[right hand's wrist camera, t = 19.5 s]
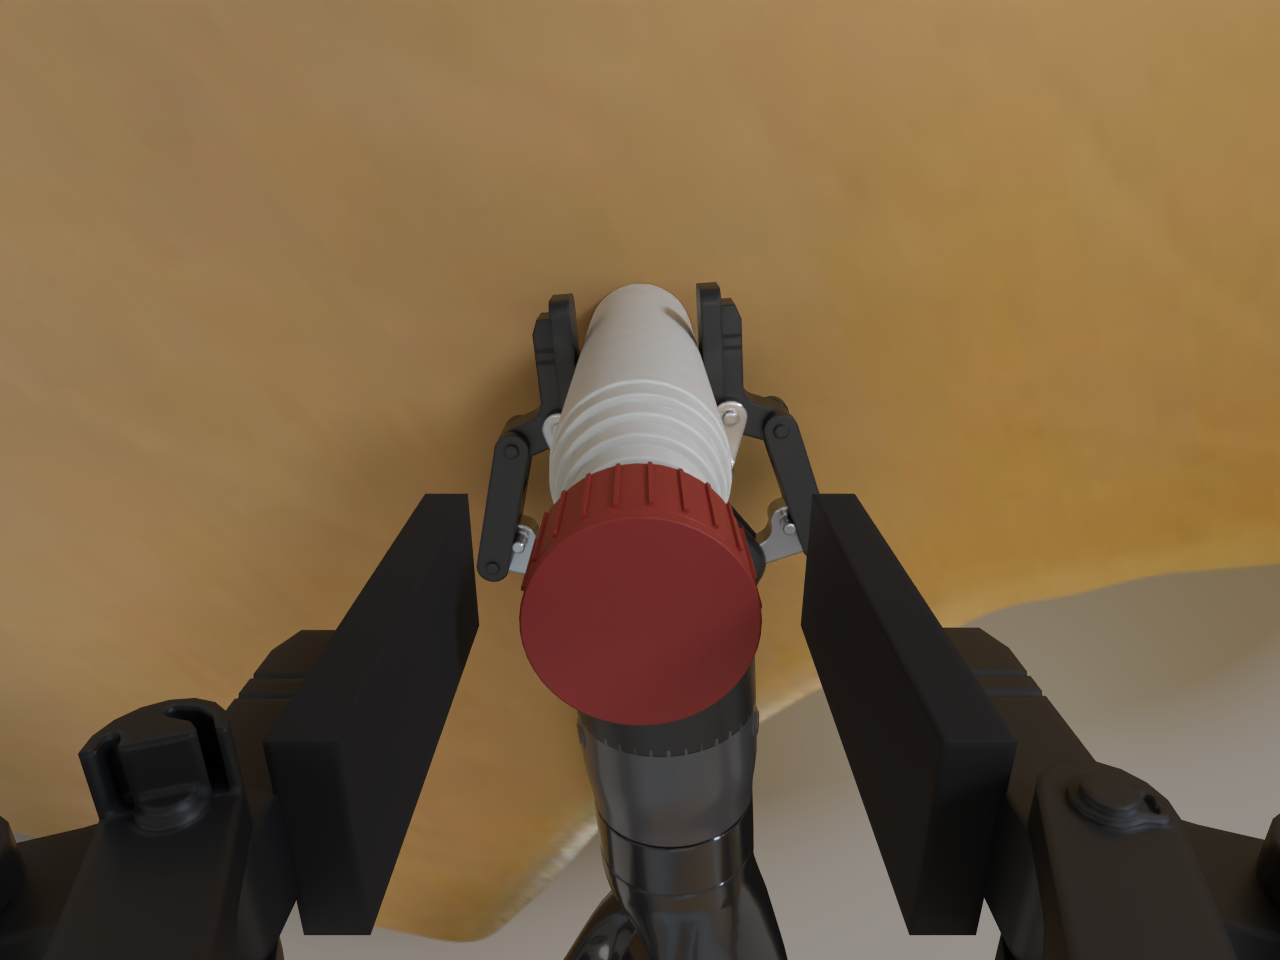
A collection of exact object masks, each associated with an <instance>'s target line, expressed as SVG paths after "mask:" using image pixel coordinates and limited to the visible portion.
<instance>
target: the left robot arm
mask: <svg viewBox="0 0 1280 960" xmlns="http://www.w3.org/2000/svg"><path fill="white" fill-rule="evenodd" d="M696 299H697V320H698V341H699V352H700V355H701V358H702V361H703V364H704V367H705V370H706V373H707V377H708V380H709V383H710V386H711V389H712V392H713V395H714V398H715V401H716V405H717V408H718V411H719V414H720V417H721V420H722V423H723V426H724V429H725V432H726V436H727V439H728V442H729V446H730V451H731V459H732V462H731V472H732V478H733V469H734V463H735V459H736V456H737V452H738V449H739V446H740V442H741V439H742V435H746V436H750V437H754V438H757V439H761V440H764V443H765V446H766V449H767V452H768V455H769V458H770V461H771V464H772V467H773V470H774V473H775V476H776V479H777V482H778V485H779V488H780V491H781V494H782V497H781V498H778V499H776V500H774V501H773V502H771V504H770V505H769V507H768V510H767V515H768V523H767V525H766V527H765V528H764V530H762V531H761V532H759V533H757V534H756V533H755V532H754V531H753V530H752V528H751V527H750V526H749V525H748V524H747V523H746V522H745V520H744V519H743V518H742V517H741V516H740V515H739V514H738V512H737V511H736V510H735V509H734V508H733V507H732V506H731V507H732V511H733V515H734V517H735V519H736V521H737V523H738V526H739V528H743V530H744V533H745V536H746V540H747V543H748V547H749V550H750V554H751V557H752V561H753V564H754V568H755V571H756V575H757V579H755V582H756V585H757V584H758V582H759V581H760V579H761V577H762V576H763V574H764V571H765V567H766V564H767V563H770V562H773V561H776V560H779V559H782V558H785V557H788V556H791V555H794V554H797V553H801V552H804V553H805V555H806V556H807V549H808V537H809V526H810V514H811V503H812V494H819V491H818V488H817V485H816V482H815V479H814V475H813V472H812V469H811V466H810V463H809V460H808V456H807V453H806V450H805V447H804V444H803V441H802V437H801V434H800V431H799V428H798V425H797V423H796V421H795V419H794V418H793V416H792V415H791V414H789V411H788V408H787V406H786V405H785V403H784V402H783V401H782V400H781V399H780V398H778V397H775V396H768V397H761V396H758V395H754V394H751V393H749V392H747V391H746V390H745V389H744V388H743V361H742V324H741V317H740V315H739V312H738V310H737V308H736V306H735V304H734V302H733V301H732V299H731V298H724V299H721V294H720V288H719V286H718V284H717V283H716V282H710V283H697V284H696ZM533 343H534V350H535V359H536V367H537V375H538V383H539V390H540V398H541V406H540V407H539V408H537V409H536V410H534V411H532V412H530V413H527V414H525V415H517V416H514V417H512V418H510V419H509V420H508V422H507V424H506V425H505V427H504V429H503V431H502V433H501V435H500V437H499V439H498V441H497V443H496V445H495V449H494V456H493V462H492V469H491V476H490V482H489V489H488V495H487V502H486V508H485V515H484V522H483V528H482V535H481V541H480V548H479V554H478V561H477V571H478V573H479V575H480V576H481V577H482V578H484V579H485V580H487V581H491V582H497V581H500V580H502V579H504V578H505V577H506V576H507V574H508V571H510V572H515V573H521V574H525V572H526V569H527V565H528V561H529V558H530V554H531V551H532V547H533V544H534V540H535V538H538V534H539V526H538V524H537V522H536V521H535V520H534V519H533V518H531V517H529V516H525V515H523V509H524V503H525V497H526V491H527V486H528V480H529V474H530V468H531V462H532V456H533V455H536V454H538V453H540V452H543V451H545V450H547V449H550V450H551V445H552V441H553V438H554V435H555V432H556V428H557V425H558V422H559V419H560V416H561V413H562V410H563V407H564V403H565V400H566V397H567V394H568V391H569V388H570V385H571V381H572V378H573V375H574V372H575V369H576V366H577V363H578V360H579V356H580V350H579V341H578V331H577V322H576V312H575V303H574V297H573V294H560V295H553V296H552V297H551V299H550V300H549V312H547V313H541V314H540V316H539V317H538V319H537V320H536V324H535V328H534V331H533ZM732 478H731V482H732ZM727 503H729V502H727ZM730 505H731V504H730ZM758 727H759V711H758V710H757V706H756V689H755V655H754V658H753V660H752V662H751V664H750V666H749V668H748V669H747V671H746V673H745V674H744V676H743V677H742V678H741V679H740V681H739V682H738V683H737V685H736V686H735V687H734V688H733V689H732V690H731V691H729V692H728V693H727V694H726V695H725V696H724V697H723V698H721V699H720V700H719V701H717V702H716V703H715V704H713V705H711V706H710V707H708V708H706V709H705V710H703V711H701V712H698V713H696V714H694V715H692V716H690V717H686V718H683V719H680V720H677V721H673V722H668V723H663V724H655V725H626V724H618V723H613V722H608V721H604V720H600V719H598V718H595V717H592V716H589V715H587V714H585V713H583V712H581V711H579V710H578V720H577V732H578V737H579V741H580V743H581V745H582V750H583V756H584V761H585V766H586V770H587V773H588V777H589V780H590V783H591V786H592V789H593V793H594V798H595V807H596V815H597V823H598V831H599V839H600V847H601V854H602V860H603V865H604V869H605V873H606V876H607V879H608V882H609V884H610V887H611V889H612V890H611V891H610V893H609V894H608V895H607V896H606V897H605V898H604V899H603V900H602V901H601V903H600V904H599V906H598V907H597V908H596V910H595V911H594V913H593V914H592V915H591V917H590V918H589V920H588V922H587V923H586V925H585V926H584V928H583V929H582V931H581V933H580V934H579V936H578V937H577V939H576V941H575V942H574V944H573V946H572V947H571V949H570V950H569V952H568V954H567V955H566V957H565V958H564V960H787V955H786V951H785V947H784V944H783V940H782V937H781V933H780V930H779V927H778V924H777V921H776V917H775V914H774V911H773V908H772V904H771V901H770V898H769V895H768V891H767V888H766V885H765V883H764V880H763V878H762V875H761V873H760V870H759V868H758V865H757V863H756V860H755V857H754V853H753V801H752V780H753V773H754V767H755V759H756V749H757V733H758Z"/></svg>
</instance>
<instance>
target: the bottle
mask: <svg viewBox="0 0 1280 960" xmlns="http://www.w3.org/2000/svg"><path fill="white" fill-rule="evenodd" d="M648 462H653V464H659V465H664V466H667V467H671V468H675V469H679V468H681V469H683V470H684V472H685V473H688V474H690V475H692V476H694V477H695V478H697V479H699V480H701V481H702V482H704V483H706V482H708V483H709V484H710V485H711V488H712V489H713V490H714V491H715V492H716V493H717V494H718V495H719V496H720V497H721V498H722V499H723V500H724V502H725V503H726V504H727V502H728V499H729V496H730V490H731V478H732V472H731V462H732V459H731V451H730V446H729V442H728V439H727V436H726V432H725V429H724V426H723V423H722V420H721V417H720V414H719V411H718V408H717V405H716V401H715V398H714V395H713V392H712V389H711V386H710V383H709V380H708V377H707V373H706V370H705V367H704V364H703V361H702V358H701V355H700V352H699V349H698V346H697V342H696V339H695V336H694V333H693V330H692V327H691V324H690V321H689V318H688V315H687V313H686V311H685V309H684V308H683V306H682V305H681V303H680V302H679V301H678V300H677V299H676V298H675V297H674V296H673V295H672V294H670V293H669V292H668V291H666V290H664V289H662V288H660V287H657V286H654V285H650V284H631V285H626V286H623V287H621V288H618V289H616V290H615V291H613V292H611V293H610V294H609V295H607V296H606V297H605V298H604V299H603V300H602V301H601V302H600V304H599V305H598V307H597V308H596V310H595V312H594V314H593V316H592V319H591V322H590V325H589V328H588V331H587V335H586V338H585V341H584V344H583V347H582V350H581V353H580V356H579V360H578V363H577V366H576V369H575V372H574V375H573V378H572V381H571V385H570V388H569V391H568V394H567V397H566V400H565V403H564V407H563V410H562V413H561V416H560V419H559V422H558V425H557V428H556V432H555V435H554V438H553V441H552V445H551V450H550V458H549V470H550V471H549V484H550V492H551V496H552V500H553V503H554V504H555V503H556V502H557V501H558V499H559V498H560V496H561V492H562V491H563V490H566V491H567V490H568V489H569V488H570V487H572V486H573V485H575V484H576V483H577V482H579V481H580V480H582V479H583V478H585V477H586V474H588V473H591V474H593V473H595V472H598V471H601V470H603V469H606V468H610V467H613V466H616V464H618V463H620V464H621V465H624V464H633V463H647V464H648Z"/></svg>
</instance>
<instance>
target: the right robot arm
mask: <svg viewBox="0 0 1280 960" xmlns="http://www.w3.org/2000/svg"><path fill="white" fill-rule="evenodd" d="M478 627H479V618H478V606H477V595H476V583H475V572H474V560H473V549H472V537H471V526H470V514H469V503H468V494H425V495H424V497H423V498H422V500H421V501H420V503H419V504H418V506H417V507H416V509H415V510H414V512H413V513H412V515H411V516H410V518H409V519H408V521H407V523H406V524H405V526H404V527H403V529H402V530H401V532H400V533H399V535H398V536H397V538H396V539H395V541H394V542H393V544H392V545H391V547H390V548H389V550H388V551H387V553H386V554H385V556H384V558H383V559H382V561H381V562H380V564H379V565H378V567H377V568H376V570H375V571H374V573H373V574H372V576H371V577H370V579H369V580H368V582H367V583H366V585H365V586H364V588H363V590H362V591H361V593H360V594H359V596H358V597H357V599H356V600H355V602H354V603H353V605H352V606H351V608H350V609H349V611H348V612H347V614H346V615H345V617H344V618H343V620H342V622H341V623H340V625H339V626H338V628H337V629H336V630H301V631H299V632H298V633H297V634H295V635H294V636H292V637H291V638H289V639H288V640H286V641H285V642H283V643H282V644H280V645H279V646H277V647H276V648H275V649H273V650H272V651H271V652H270V653H269V655H268V656H267V657H266V659H265V660H264V661H263V663H262V664H261V665H260V666H259V668H258V669H257V670H256V672H255V673H254V678H253V679H250V680H249V681H248V682H247V684H246V685H245V686H244V687H243V689H242V690H241V691H240V693H239V698H238V699H234V701H233V702H232V703H231V705H230V706H229V707H228V708H227V710H226V711H225V710H224V709H223V708H222V707H220V706H219V705H218V704H217V703H216V702H212V701H207V700H202V699H197V698H189V699H175V700H167V701H164V702H160V703H156V704H152V705H149V706H145V707H141V708H139V709H137V710H135V711H133V712H131V713H128V714H126V715H124V716H122V717H120V718H118V719H115V720H114V721H112V722H111V723H110V724H108V725H107V726H105V727H104V728H103V729H101V730H100V731H98V732H97V733H96V734H94V735H93V736H92V737H91V738H90V739H89V741H88V742H87V743H86V744H85V746H84V747H83V748H82V749H81V751H80V752H79V753H78V755H79V758H80V761H81V765H82V768H83V771H84V774H85V777H86V780H87V783H88V786H89V789H90V792H91V795H92V798H93V801H94V804H95V807H96V810H97V814H98V817H99V823H98V824H95V825H91V826H88V827H85V828H81V829H76V830H72V831H67V832H63V833H59V834H54V835H50V836H46V837H41V838H37V839H32V840H29V841H24V842H19V843H16V841H15V838H14V836H13V833H12V830H11V828H10V825H9V823H8V822H7V821H6V820H5V819H3V818H2V817H1V816H0V960H284V955H283V949H282V945H281V941H280V934H281V931H282V929H283V927H284V925H285V923H286V921H287V919H288V917H289V914H290V912H291V910H292V908H293V906H294V904H295V902H296V900H297V905H298V909H299V914H300V918H301V923H302V927H303V932H304V935H371V932H372V929H373V926H374V923H375V921H376V918H377V915H378V912H379V909H380V906H381V904H382V901H383V898H384V895H385V892H386V889H387V886H388V884H389V881H390V878H391V875H392V872H393V869H394V866H395V864H396V861H397V858H398V855H399V852H400V849H401V847H402V844H403V841H404V838H405V835H406V832H407V829H408V827H409V824H410V821H411V818H412V815H413V812H414V809H415V807H416V804H417V801H418V798H419V795H420V792H421V790H422V787H423V784H424V781H425V778H426V775H427V772H428V770H429V767H430V764H431V761H432V758H433V755H434V753H435V750H436V747H437V744H438V741H439V738H440V735H441V733H442V730H443V727H444V724H445V721H446V718H447V715H448V713H449V710H450V707H451V704H452V701H453V698H454V696H455V693H456V690H457V687H458V684H459V681H460V678H461V676H462V673H463V670H464V667H465V664H466V661H467V658H468V656H469V653H470V650H471V647H472V644H473V641H474V639H475V636H476V633H477V630H478ZM801 627H802V630H803V633H804V636H805V639H806V641H807V644H808V647H809V650H810V653H811V656H812V658H813V661H814V664H815V667H816V670H817V673H818V676H819V678H820V681H821V684H822V687H823V690H824V693H825V696H826V698H827V701H828V704H829V707H830V710H831V713H832V715H833V718H834V721H835V724H836V727H837V730H838V732H839V735H840V738H841V741H842V744H843V747H844V750H845V752H846V755H847V758H848V761H849V764H850V767H851V770H852V772H853V775H854V778H855V781H856V784H857V787H858V790H859V792H860V795H861V798H862V801H863V804H864V807H865V809H866V812H867V815H868V818H869V821H870V824H871V827H872V829H873V832H874V835H875V838H876V841H877V844H878V847H879V849H880V852H881V855H882V858H883V861H884V864H885V866H886V869H887V872H888V875H889V878H890V881H891V884H892V886H893V889H894V892H895V895H896V898H897V901H898V904H899V906H900V909H901V912H902V915H903V918H904V921H905V923H906V926H907V929H908V932H909V935H976V932H977V927H978V923H979V918H980V914H981V909H982V904H983V900H984V898H985V900H986V902H987V904H988V906H989V908H990V911H991V913H992V915H993V917H994V919H995V921H996V923H997V925H998V927H999V930H1000V932H1001V936H1000V940H999V945H998V949H997V953H996V957H995V960H1280V814H1279V815H1277V816H1276V817H1275V818H1273V820H1272V823H1271V825H1270V828H1269V831H1268V833H1267V836H1266V838H1265V840H1263V839H1258V838H1254V837H1249V836H1245V835H1240V834H1236V833H1232V832H1227V831H1223V830H1219V829H1214V828H1210V827H1205V826H1201V825H1197V824H1194V823H1190V822H1187V821H1183V820H1181V819H1180V817H1179V816H1178V814H1177V813H1176V811H1175V810H1174V808H1173V807H1172V805H1171V804H1170V802H1169V801H1168V800H1167V799H1166V798H1165V797H1164V796H1162V795H1161V794H1160V793H1159V792H1157V791H1156V790H1155V789H1154V788H1153V787H1151V786H1150V785H1149V784H1148V783H1146V782H1145V781H1143V780H1141V779H1139V778H1137V777H1135V776H1133V775H1131V774H1129V773H1127V772H1125V771H1124V770H1122V769H1119V768H1115V767H1112V766H1109V765H1105V764H1102V763H1099V762H1096V761H1095V760H1094V758H1093V757H1092V756H1091V754H1090V753H1089V752H1088V751H1087V749H1086V748H1085V747H1084V745H1083V744H1082V743H1081V741H1080V740H1079V739H1078V737H1077V736H1076V735H1075V734H1074V732H1073V731H1072V730H1071V728H1070V727H1069V726H1068V724H1067V723H1066V722H1065V721H1064V719H1063V718H1062V717H1061V715H1060V714H1059V713H1058V711H1057V710H1056V709H1055V707H1054V706H1053V705H1052V704H1051V702H1050V701H1049V700H1048V698H1047V697H1046V696H1042V691H1041V689H1040V688H1039V687H1038V685H1037V684H1036V683H1035V681H1034V680H1033V679H1032V678H1031V676H1027V671H1026V670H1025V668H1024V667H1023V666H1022V665H1021V663H1020V662H1019V661H1018V659H1017V658H1016V657H1015V655H1014V654H1013V653H1012V651H1011V650H1010V649H1009V648H1008V647H1007V646H1005V645H1004V644H1002V643H1001V642H999V641H998V640H996V639H995V638H993V637H992V636H990V635H989V634H988V633H986V632H985V631H983V630H982V629H980V628H942V626H941V625H940V623H939V622H938V620H937V618H936V617H935V615H934V614H933V612H932V611H931V609H930V608H929V606H928V605H927V603H926V602H925V600H924V599H923V597H922V596H921V594H920V593H919V591H918V590H917V588H916V586H915V585H914V583H913V582H912V580H911V579H910V577H909V576H908V574H907V573H906V571H905V570H904V568H903V567H902V565H901V564H900V562H899V561H898V559H897V558H896V556H895V555H894V553H893V551H892V550H891V548H890V547H889V545H888V544H887V542H886V541H885V539H884V538H883V536H882V535H881V533H880V532H879V530H878V529H877V527H876V526H875V524H874V523H873V521H872V519H871V518H870V516H869V515H868V513H867V512H866V510H865V509H864V507H863V506H862V504H861V503H860V501H859V500H858V498H857V497H856V495H855V494H812V503H811V514H810V526H809V537H808V549H807V560H806V572H805V583H804V595H803V606H802V618H801Z"/></svg>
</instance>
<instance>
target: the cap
mask: <svg viewBox="0 0 1280 960" xmlns="http://www.w3.org/2000/svg"><path fill="white" fill-rule="evenodd" d="M755 579H757V575H756V571H755V568H754V564H753V561H752V557H751V554H750V550H749V547H748V543H747V540H746V536H745V533H744V530H743V528H739V526H738V523H737V521H736V519H735V517H734V515H733V511H732V507H731V505H730V503H727V504H726V503H725V502H724V500H723V499H722V498H721V497H720V496H719V495H718V494H717V493H716V492H715V491H714V490H713V489H712V488H711V485H710V484H709V483H708V482H706V483H704V482H702V481H701V480H699V479H697V478H695V477H694V476H692V475H690V474H688V473H685V472H684V470H683V469H681V468H679V469H675V468H671V467H667V466H664V465H659V464H653V462H648V464H647V463H633V464H624V465H621V464H620V463H618V464H616V466H613V467H610V468H606V469H603V470H601V471H598V472H595V473H593V474H591V473H588V474H586V477H585V478H583V479H582V480H580V481H579V482H577V483H576V484H575V485H573V486H572V487H570V488H569V489H568V490H567V491H566V490H563V491H562V492H561V496H560V498H559V499H558V501H557V502H556V503H555V504H554V505H553V507H552V508H551V510H550V512H549V513H547V512H545V514H544V516H543V520H542V523H541V527H540V531H539V534H538V538H535V540H534V544H533V547H532V551H531V554H530V558H529V561H528V565H527V569H526V572H525V576H524V579H523V583H522V586H521V590H522V591H524V594H523V597H522V601H521V607H520V616H519V621H520V634H521V639H522V644H523V647H524V650H525V653H526V656H527V658H528V660H529V662H530V664H531V666H532V668H533V669H534V671H535V672H536V674H537V675H538V677H539V678H540V679H541V681H542V682H543V683H544V684H545V685H546V686H547V687H548V688H549V690H550V691H551V692H552V693H554V694H555V695H556V696H557V697H559V698H560V699H561V700H562V701H564V702H565V703H567V704H568V705H570V706H571V707H573V708H574V709H576V710H579V711H581V712H583V713H585V714H587V715H589V716H592V717H595V718H598V719H600V720H604V721H608V722H613V723H618V724H626V725H655V724H663V723H668V722H673V721H677V720H680V719H683V718H686V717H690V716H692V715H694V714H696V713H698V712H701V711H703V710H705V709H706V708H708V707H710V706H711V705H713V704H715V703H716V702H717V701H719V700H720V699H721V698H723V697H724V696H725V695H726V694H727V693H728V692H729V691H731V690H732V689H733V688H734V687H735V686H736V685H737V683H738V682H739V681H740V679H741V678H742V677H743V676H744V674H745V673H746V671H747V669H748V668H749V666H750V664H751V662H752V660H753V658H754V655H755V653H756V651H757V648H758V644H759V640H760V636H761V625H762V616H761V608H762V603H761V600H760V596H759V593H758V589H757V585H756V582H755Z"/></svg>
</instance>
